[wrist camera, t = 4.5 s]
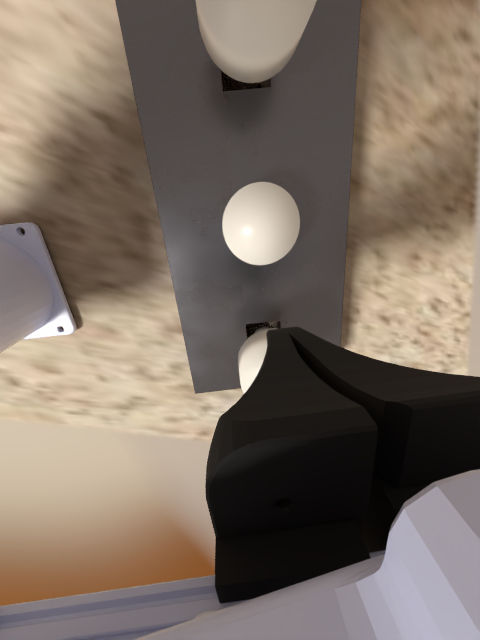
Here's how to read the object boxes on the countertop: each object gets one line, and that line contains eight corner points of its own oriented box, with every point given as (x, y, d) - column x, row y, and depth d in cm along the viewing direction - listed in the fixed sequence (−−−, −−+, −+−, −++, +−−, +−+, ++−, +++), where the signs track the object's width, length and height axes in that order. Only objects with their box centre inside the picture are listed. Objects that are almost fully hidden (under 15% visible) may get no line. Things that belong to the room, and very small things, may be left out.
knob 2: (238, 364, 19) (243, 412, 14) (232, 314, 17) (236, 349, 13) (292, 358, 19) (314, 403, 14) (291, 307, 17) (315, 340, 13)
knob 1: (209, 113, 13) (202, 59, 8) (196, 4, 11) (180, -133, 7) (287, 106, 13) (321, 48, 9) (284, -4, 12) (324, -144, 7)
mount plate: (198, 371, 22) (195, 393, 19) (128, -2, 13) (103, -58, 11) (324, 356, 22) (338, 376, 20) (336, -20, 14) (365, -79, 11)
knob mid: (225, 255, 18) (227, 268, 14) (218, 193, 17) (217, 186, 12) (281, 249, 18) (300, 260, 14) (279, 187, 17) (299, 177, 12)
